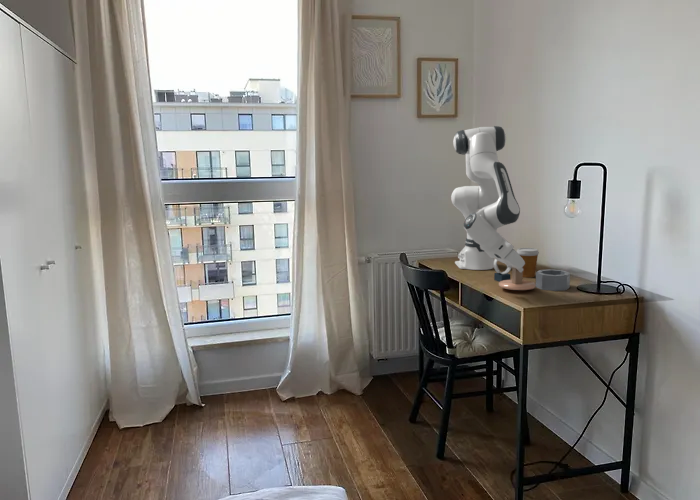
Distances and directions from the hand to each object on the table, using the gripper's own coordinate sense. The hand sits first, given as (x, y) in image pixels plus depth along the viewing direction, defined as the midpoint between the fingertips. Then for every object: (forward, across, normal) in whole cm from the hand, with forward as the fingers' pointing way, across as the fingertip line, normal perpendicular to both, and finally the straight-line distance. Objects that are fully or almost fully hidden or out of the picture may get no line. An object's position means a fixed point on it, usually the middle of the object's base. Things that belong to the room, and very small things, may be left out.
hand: (518, 269), depth 224 cm
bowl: (+16, 0, +5) cm, 17 cm away
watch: (+7, -17, -5) cm, 19 cm away
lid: (+4, 0, -5) cm, 6 cm away
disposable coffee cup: (+17, -22, +5) cm, 28 cm away
